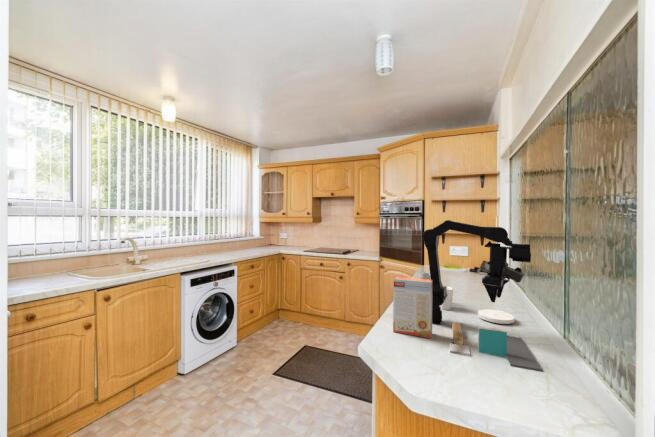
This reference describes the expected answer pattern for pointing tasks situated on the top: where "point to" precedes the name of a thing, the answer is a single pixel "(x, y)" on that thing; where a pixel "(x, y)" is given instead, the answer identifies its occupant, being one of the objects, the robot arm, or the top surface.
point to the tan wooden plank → (458, 341)
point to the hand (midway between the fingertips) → (496, 299)
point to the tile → (492, 341)
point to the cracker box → (412, 306)
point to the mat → (520, 354)
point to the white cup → (448, 299)
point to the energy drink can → (424, 275)
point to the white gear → (496, 316)
